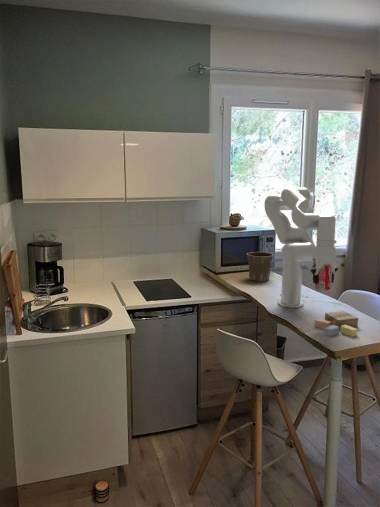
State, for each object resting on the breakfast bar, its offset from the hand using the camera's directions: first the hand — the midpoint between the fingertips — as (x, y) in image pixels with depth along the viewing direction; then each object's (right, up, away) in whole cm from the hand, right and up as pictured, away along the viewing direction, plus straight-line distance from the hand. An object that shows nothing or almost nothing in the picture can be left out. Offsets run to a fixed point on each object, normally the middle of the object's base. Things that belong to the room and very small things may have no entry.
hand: (323, 282), depth 199 cm
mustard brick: (+7, -21, -12) cm, 25 cm away
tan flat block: (+8, -19, 0) cm, 20 cm away
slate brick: (0, -21, -12) cm, 24 cm away
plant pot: (-17, -3, +78) cm, 79 cm away
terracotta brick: (-1, -19, -4) cm, 20 cm away
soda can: (0, -3, +1) cm, 4 cm away
